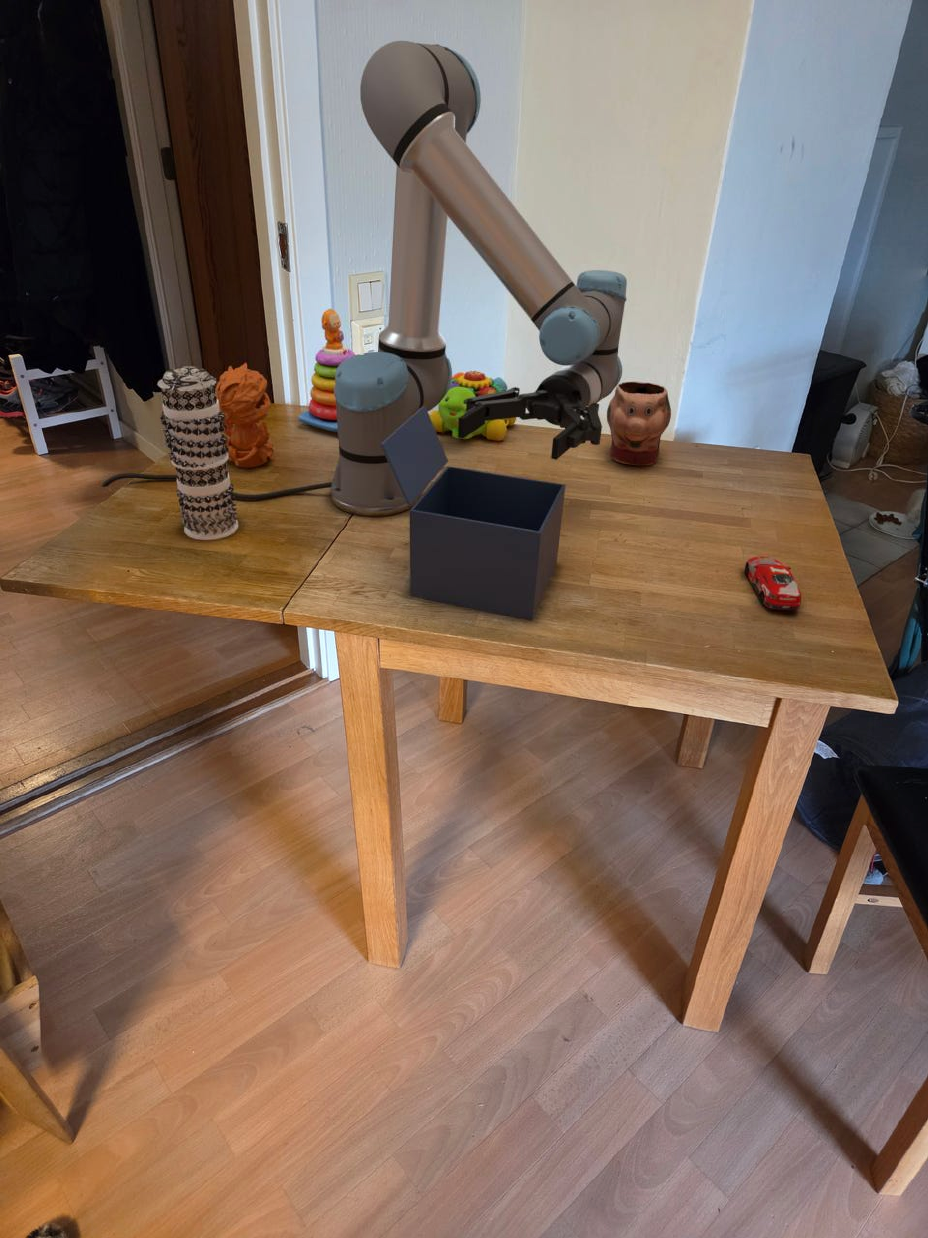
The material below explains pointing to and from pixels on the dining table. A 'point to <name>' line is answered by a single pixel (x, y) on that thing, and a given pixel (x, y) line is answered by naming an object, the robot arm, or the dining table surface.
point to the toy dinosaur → (245, 415)
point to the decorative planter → (638, 422)
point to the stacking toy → (326, 375)
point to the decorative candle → (198, 452)
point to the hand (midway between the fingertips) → (506, 438)
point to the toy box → (485, 541)
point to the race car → (773, 583)
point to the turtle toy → (456, 405)
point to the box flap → (414, 454)
